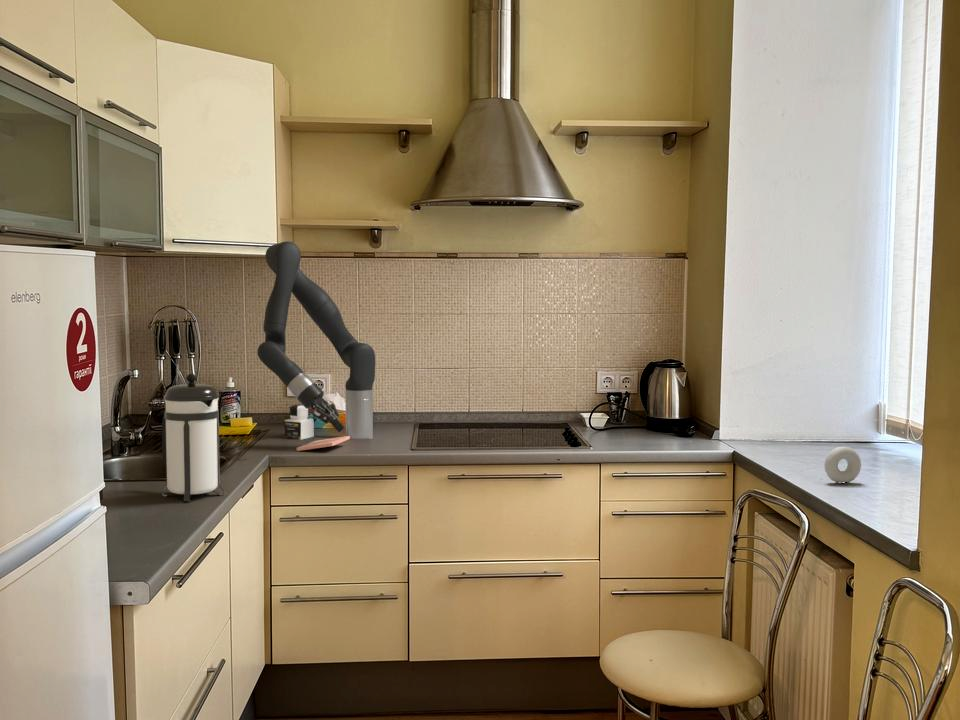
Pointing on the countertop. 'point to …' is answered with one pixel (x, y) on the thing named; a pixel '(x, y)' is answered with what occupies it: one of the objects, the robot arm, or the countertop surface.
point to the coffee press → (191, 439)
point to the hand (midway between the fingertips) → (342, 430)
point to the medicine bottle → (299, 423)
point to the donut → (852, 466)
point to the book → (323, 443)
